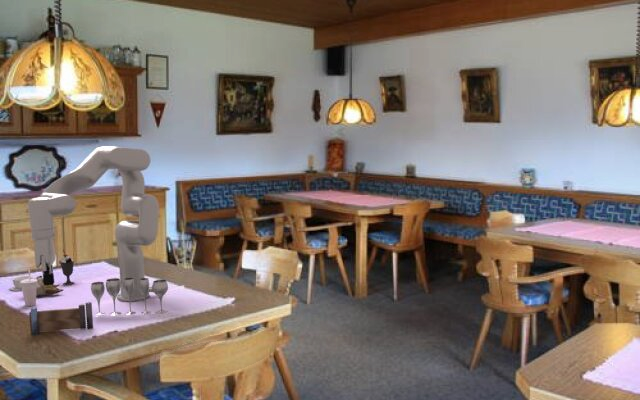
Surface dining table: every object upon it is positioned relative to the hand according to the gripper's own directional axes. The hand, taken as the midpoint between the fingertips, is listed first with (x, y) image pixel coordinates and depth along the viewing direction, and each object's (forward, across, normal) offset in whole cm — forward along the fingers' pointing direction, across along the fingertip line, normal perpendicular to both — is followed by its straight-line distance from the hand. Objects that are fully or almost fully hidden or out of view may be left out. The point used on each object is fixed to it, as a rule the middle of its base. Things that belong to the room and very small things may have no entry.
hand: (49, 284), depth 223 cm
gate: (+14, +7, +3) cm, 16 cm away
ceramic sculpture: (+16, -42, -12) cm, 47 cm away
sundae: (+17, -59, -5) cm, 61 cm away
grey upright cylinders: (+15, +8, +5) cm, 17 cm away
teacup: (+17, -56, -23) cm, 63 cm away
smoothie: (+16, -29, -14) cm, 36 cm away
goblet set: (+16, -7, +26) cm, 31 cm away
